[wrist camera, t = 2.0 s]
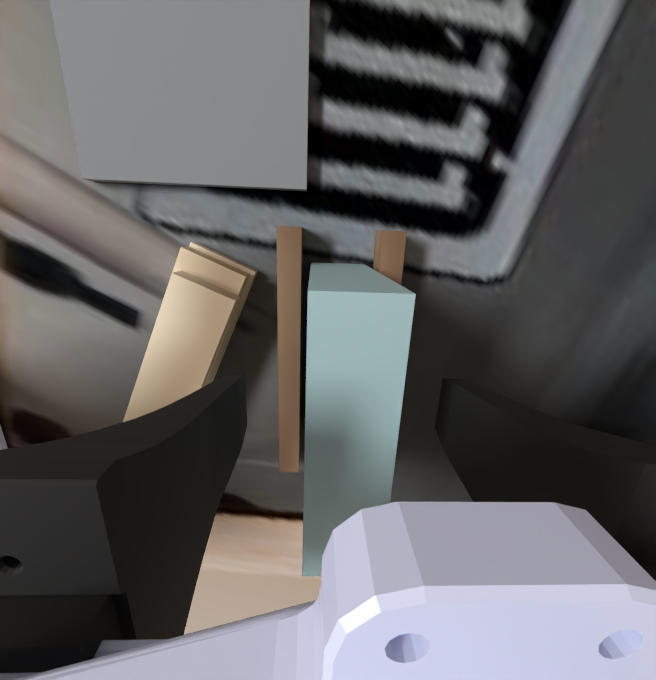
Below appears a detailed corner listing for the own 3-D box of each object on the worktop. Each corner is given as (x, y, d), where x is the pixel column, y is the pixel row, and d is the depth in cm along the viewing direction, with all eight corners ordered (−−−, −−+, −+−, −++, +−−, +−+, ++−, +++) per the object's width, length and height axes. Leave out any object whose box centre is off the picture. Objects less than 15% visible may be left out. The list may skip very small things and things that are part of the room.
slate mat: (91, 180, 13) (81, 178, 13) (24, -208, 10) (7, -234, 9) (306, 191, 14) (306, 189, 13) (313, -177, 10) (313, -201, 10)
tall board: (307, 429, 18) (302, 576, 10) (311, 262, 15) (307, 290, 7) (352, 430, 18) (380, 575, 10) (364, 264, 15) (415, 294, 7)
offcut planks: (138, 416, 17) (106, 447, 15) (197, 241, 15) (172, 242, 12) (191, 435, 18) (171, 469, 15) (258, 270, 15) (247, 276, 13)
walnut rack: (282, 453, 18) (279, 472, 17) (280, 226, 14) (276, 226, 13) (375, 453, 18) (380, 472, 17) (397, 231, 15) (406, 231, 13)
